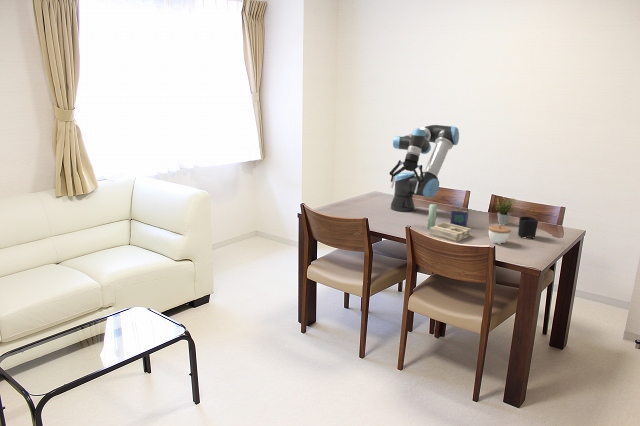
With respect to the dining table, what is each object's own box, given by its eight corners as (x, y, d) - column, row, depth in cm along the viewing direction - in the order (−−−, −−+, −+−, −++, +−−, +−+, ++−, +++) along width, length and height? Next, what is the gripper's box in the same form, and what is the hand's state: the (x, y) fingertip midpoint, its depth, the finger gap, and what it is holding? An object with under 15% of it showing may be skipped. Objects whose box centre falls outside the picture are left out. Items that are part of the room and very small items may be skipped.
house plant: (518, 222, 305) (522, 195, 301) (516, 228, 293) (520, 200, 288) (493, 218, 311) (497, 192, 306) (490, 224, 299) (494, 197, 294)
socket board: (444, 229, 287) (445, 222, 286) (470, 235, 276) (471, 228, 275) (429, 234, 276) (429, 227, 275) (455, 242, 265) (456, 234, 264)
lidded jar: (483, 239, 272) (486, 222, 269) (503, 239, 273) (505, 222, 270) (492, 245, 262) (494, 228, 259) (512, 245, 263) (514, 228, 260)
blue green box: (466, 226, 294) (468, 208, 291) (466, 227, 291) (468, 209, 289) (450, 224, 297) (452, 206, 294) (450, 225, 294) (451, 207, 291)
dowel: (429, 227, 289) (432, 203, 285) (436, 229, 286) (438, 205, 282) (426, 228, 286) (428, 204, 282) (432, 230, 283) (434, 206, 280)
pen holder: (514, 236, 278) (516, 218, 276) (521, 232, 285) (523, 215, 282) (531, 240, 272) (534, 222, 270) (538, 236, 279) (541, 219, 276)
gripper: (391, 148, 292) (381, 184, 289) (434, 157, 285) (424, 194, 283) (392, 152, 299) (382, 187, 296) (434, 161, 292) (425, 196, 290)
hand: (403, 190), depth 289 cm, fingers open, 13 cm apart
